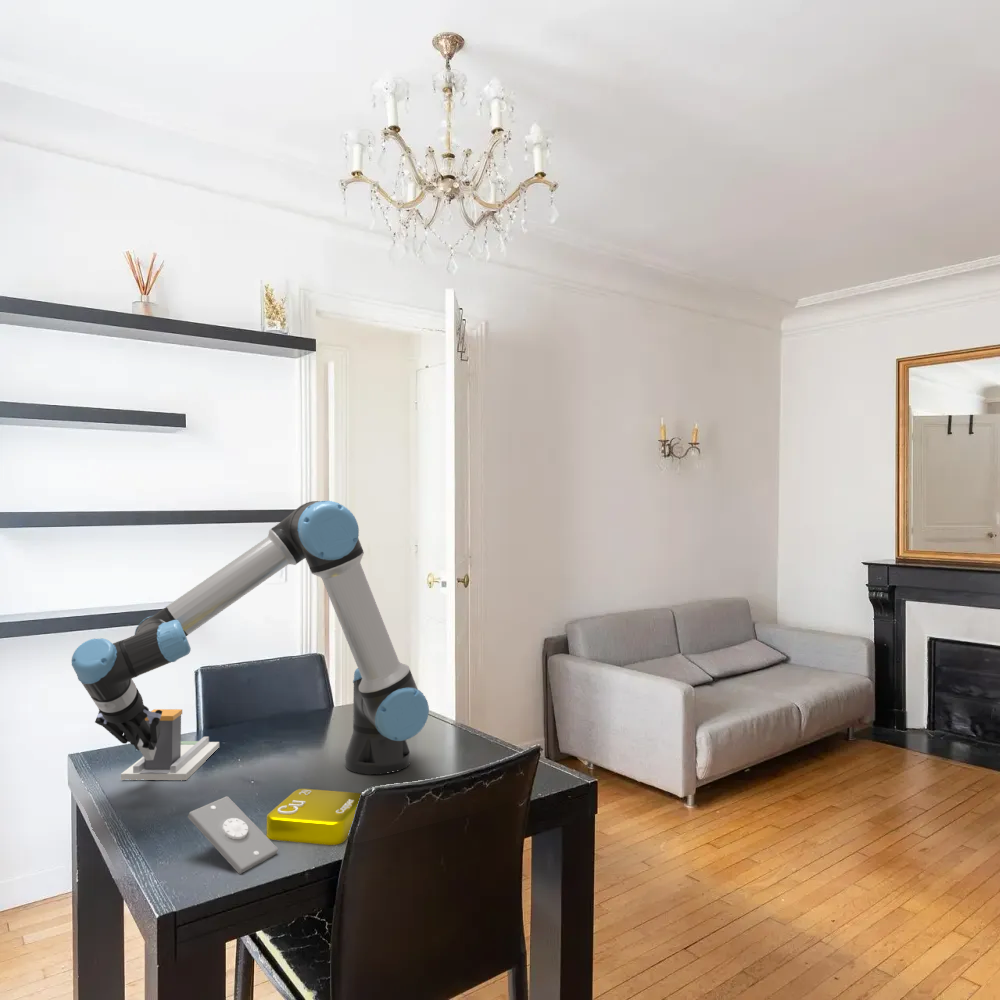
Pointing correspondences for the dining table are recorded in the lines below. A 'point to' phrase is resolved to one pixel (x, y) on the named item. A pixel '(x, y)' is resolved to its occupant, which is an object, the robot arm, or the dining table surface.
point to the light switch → (233, 834)
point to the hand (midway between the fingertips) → (151, 754)
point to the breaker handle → (167, 740)
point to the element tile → (313, 817)
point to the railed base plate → (175, 763)
